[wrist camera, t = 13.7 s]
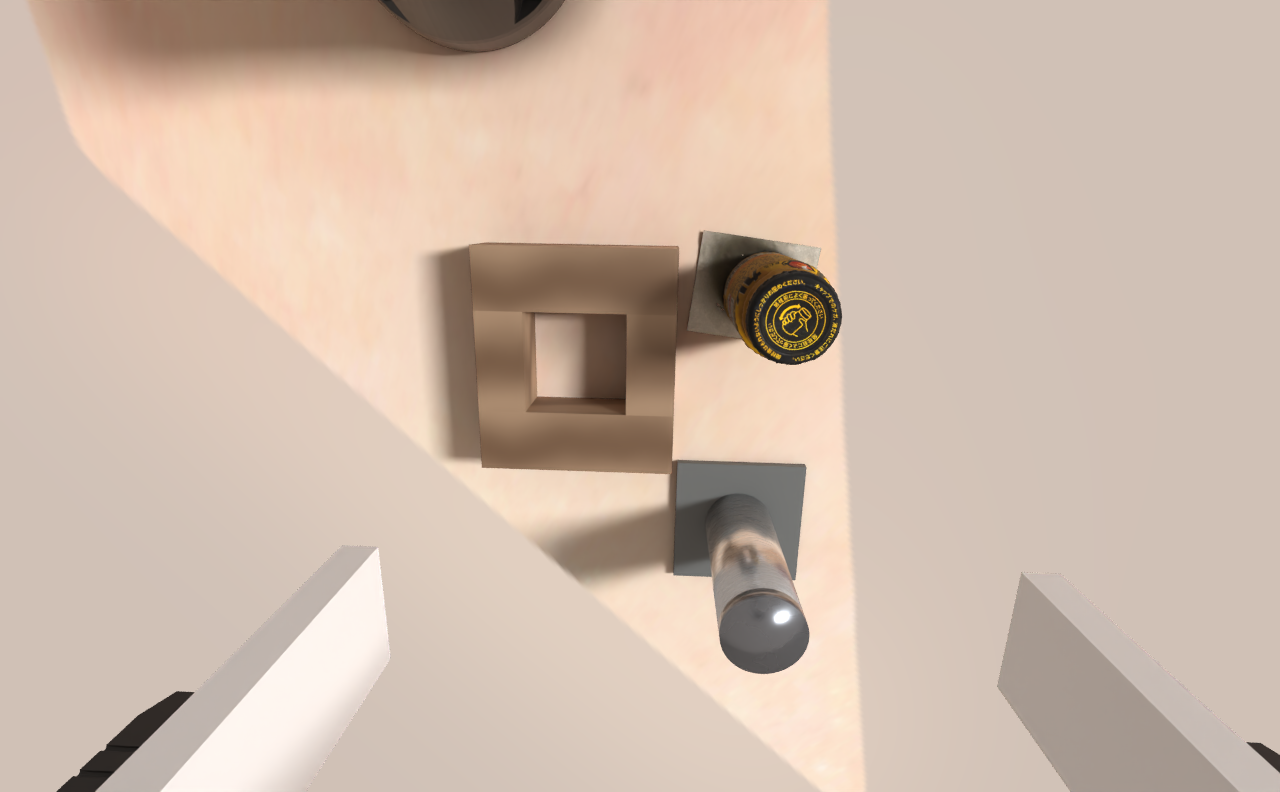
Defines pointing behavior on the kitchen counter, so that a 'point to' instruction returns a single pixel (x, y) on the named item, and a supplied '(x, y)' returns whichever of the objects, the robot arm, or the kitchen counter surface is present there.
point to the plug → (753, 588)
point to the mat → (718, 479)
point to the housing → (506, 355)
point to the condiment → (765, 297)
